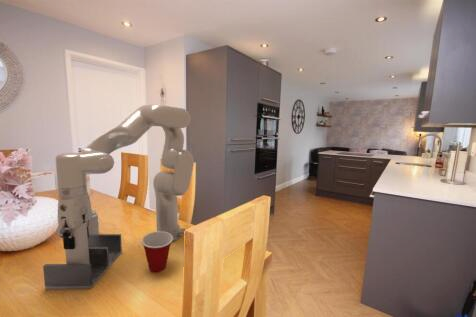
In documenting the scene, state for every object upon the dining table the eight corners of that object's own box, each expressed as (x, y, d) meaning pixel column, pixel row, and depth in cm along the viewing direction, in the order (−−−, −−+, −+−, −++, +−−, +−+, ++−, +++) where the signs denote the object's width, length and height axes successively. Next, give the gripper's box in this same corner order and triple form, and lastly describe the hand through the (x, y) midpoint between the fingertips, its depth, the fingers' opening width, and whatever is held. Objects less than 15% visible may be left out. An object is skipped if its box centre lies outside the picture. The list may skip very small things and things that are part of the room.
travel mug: (65, 277, 71) (59, 218, 68) (69, 266, 77) (64, 211, 74) (88, 272, 74) (83, 215, 71) (90, 261, 80) (86, 208, 77)
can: (89, 241, 100) (88, 216, 98) (75, 239, 101) (73, 214, 100) (102, 233, 107) (101, 210, 105) (89, 232, 108) (88, 208, 107)
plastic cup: (155, 282, 75) (154, 248, 73) (135, 270, 80) (134, 239, 79) (179, 265, 84) (179, 235, 82) (160, 256, 90) (160, 228, 88)
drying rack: (121, 252, 92) (121, 234, 91) (90, 288, 71) (89, 265, 70) (87, 252, 91) (85, 234, 90) (45, 289, 70) (43, 266, 69)
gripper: (65, 199, 64) (70, 258, 66) (100, 184, 81) (102, 231, 83) (38, 199, 63) (44, 258, 66) (79, 184, 80) (82, 231, 83)
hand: (77, 242), depth 74 cm, fingers closed on travel mug, 6 cm apart
